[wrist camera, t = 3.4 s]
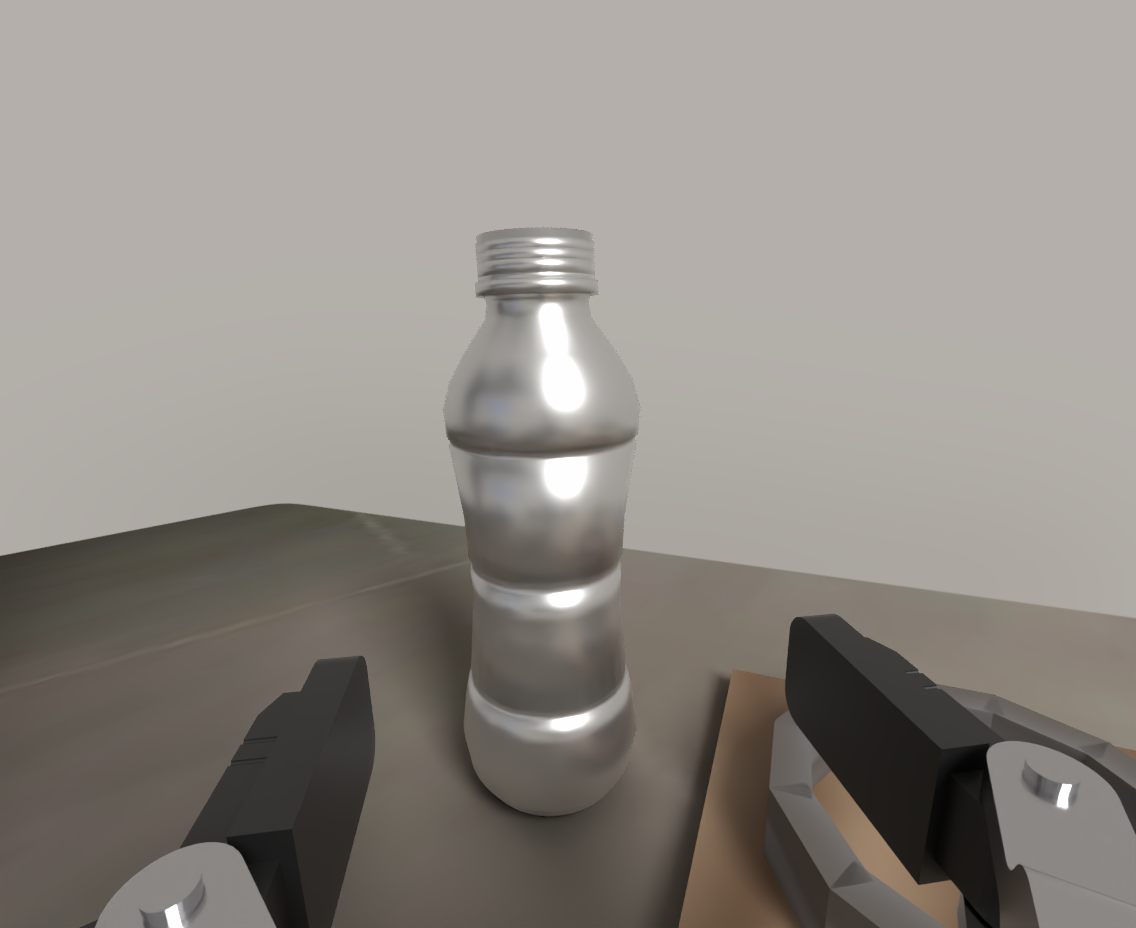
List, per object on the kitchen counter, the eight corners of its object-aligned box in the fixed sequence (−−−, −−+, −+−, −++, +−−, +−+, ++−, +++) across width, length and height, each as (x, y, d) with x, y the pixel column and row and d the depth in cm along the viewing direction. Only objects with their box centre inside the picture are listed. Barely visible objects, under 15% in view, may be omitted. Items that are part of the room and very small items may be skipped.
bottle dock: (648, 1094, 13) (651, 981, 12) (731, 687, 27) (735, 622, 27) (1886, 1711, 7) (2059, 1578, 6) (1166, 780, 21) (1189, 700, 21)
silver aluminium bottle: (534, 698, 27) (516, 254, 22) (664, 757, 23) (677, 236, 18) (432, 789, 22) (378, 236, 17) (577, 883, 18) (562, 207, 13)
